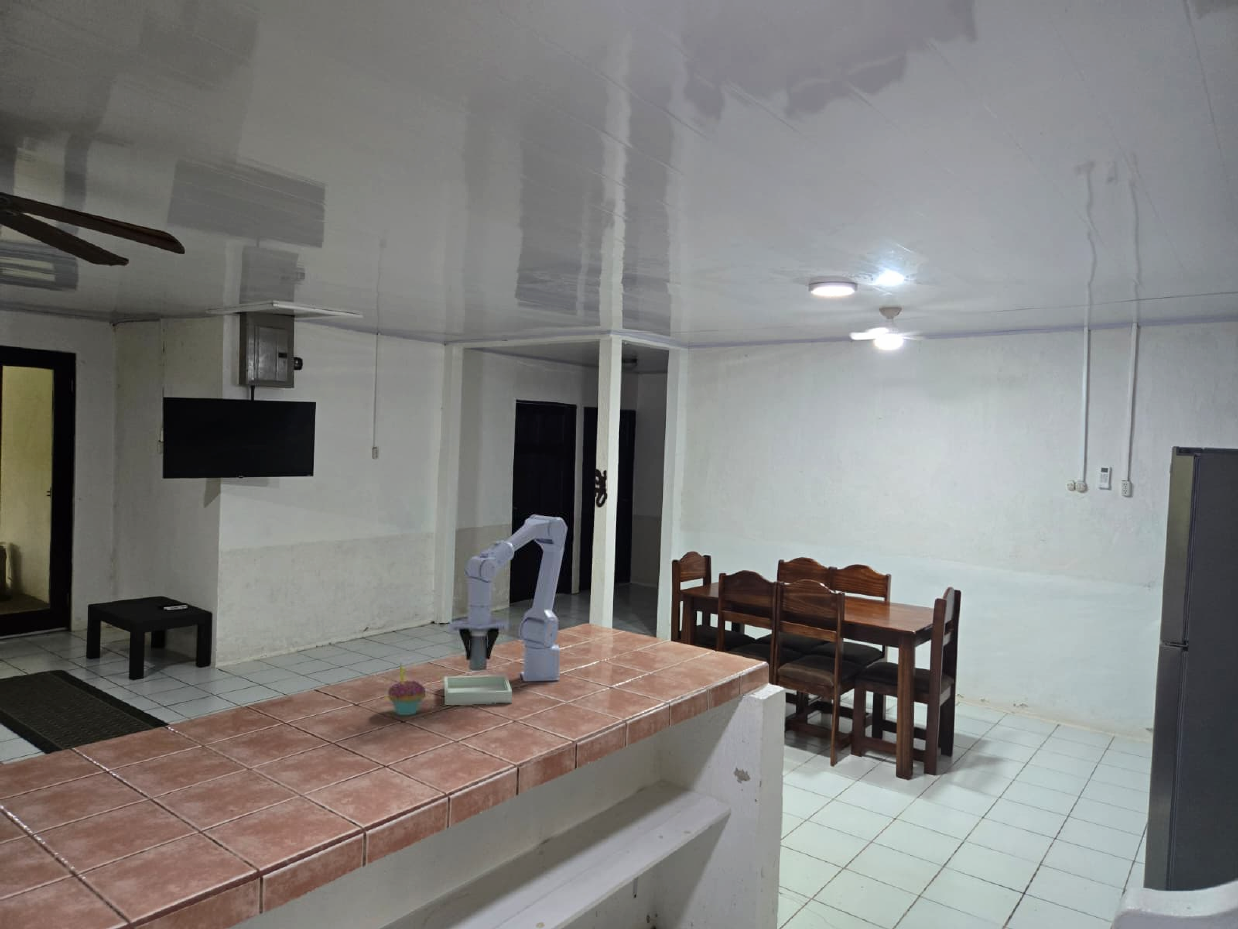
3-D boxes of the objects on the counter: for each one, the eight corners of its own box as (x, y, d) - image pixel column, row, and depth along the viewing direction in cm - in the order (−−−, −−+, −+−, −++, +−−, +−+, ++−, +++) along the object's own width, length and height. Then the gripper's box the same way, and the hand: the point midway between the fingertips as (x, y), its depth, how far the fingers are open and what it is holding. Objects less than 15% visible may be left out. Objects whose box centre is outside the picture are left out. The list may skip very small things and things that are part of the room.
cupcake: (402, 720, 187) (404, 668, 186) (379, 712, 192) (380, 661, 191) (432, 711, 193) (433, 661, 193) (409, 703, 199) (410, 654, 198)
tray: (506, 686, 215) (506, 674, 215) (511, 703, 201) (512, 691, 201) (443, 688, 211) (444, 676, 211) (445, 706, 198) (445, 693, 198)
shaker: (486, 666, 209) (487, 628, 209) (487, 670, 204) (488, 631, 205) (468, 667, 208) (469, 628, 208) (468, 671, 203) (470, 631, 204)
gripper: (450, 608, 200) (449, 663, 200) (510, 608, 203) (508, 662, 204) (449, 602, 207) (448, 656, 207) (507, 602, 210) (505, 654, 211)
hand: (478, 658), depth 206 cm, fingers closed on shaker, 4 cm apart
